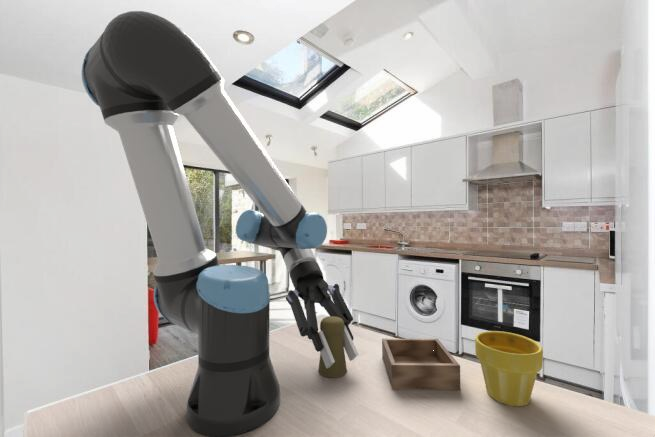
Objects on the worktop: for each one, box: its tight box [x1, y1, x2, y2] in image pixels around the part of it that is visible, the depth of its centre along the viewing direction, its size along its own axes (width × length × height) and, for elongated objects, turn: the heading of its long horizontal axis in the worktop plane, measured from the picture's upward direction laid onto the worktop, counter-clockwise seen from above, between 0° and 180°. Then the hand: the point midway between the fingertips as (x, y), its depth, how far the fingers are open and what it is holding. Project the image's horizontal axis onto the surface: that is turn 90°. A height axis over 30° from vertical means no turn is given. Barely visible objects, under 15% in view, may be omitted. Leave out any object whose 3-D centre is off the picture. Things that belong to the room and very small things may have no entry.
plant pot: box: [474, 330, 544, 407], centre depth 54 cm, size 10×10×10 cm
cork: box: [318, 315, 348, 379], centre depth 64 cm, size 6×6×11 cm
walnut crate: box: [381, 338, 461, 391], centre depth 62 cm, size 13×13×4 cm
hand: (342, 361), depth 60 cm, fingers closed on cork, 5 cm apart
